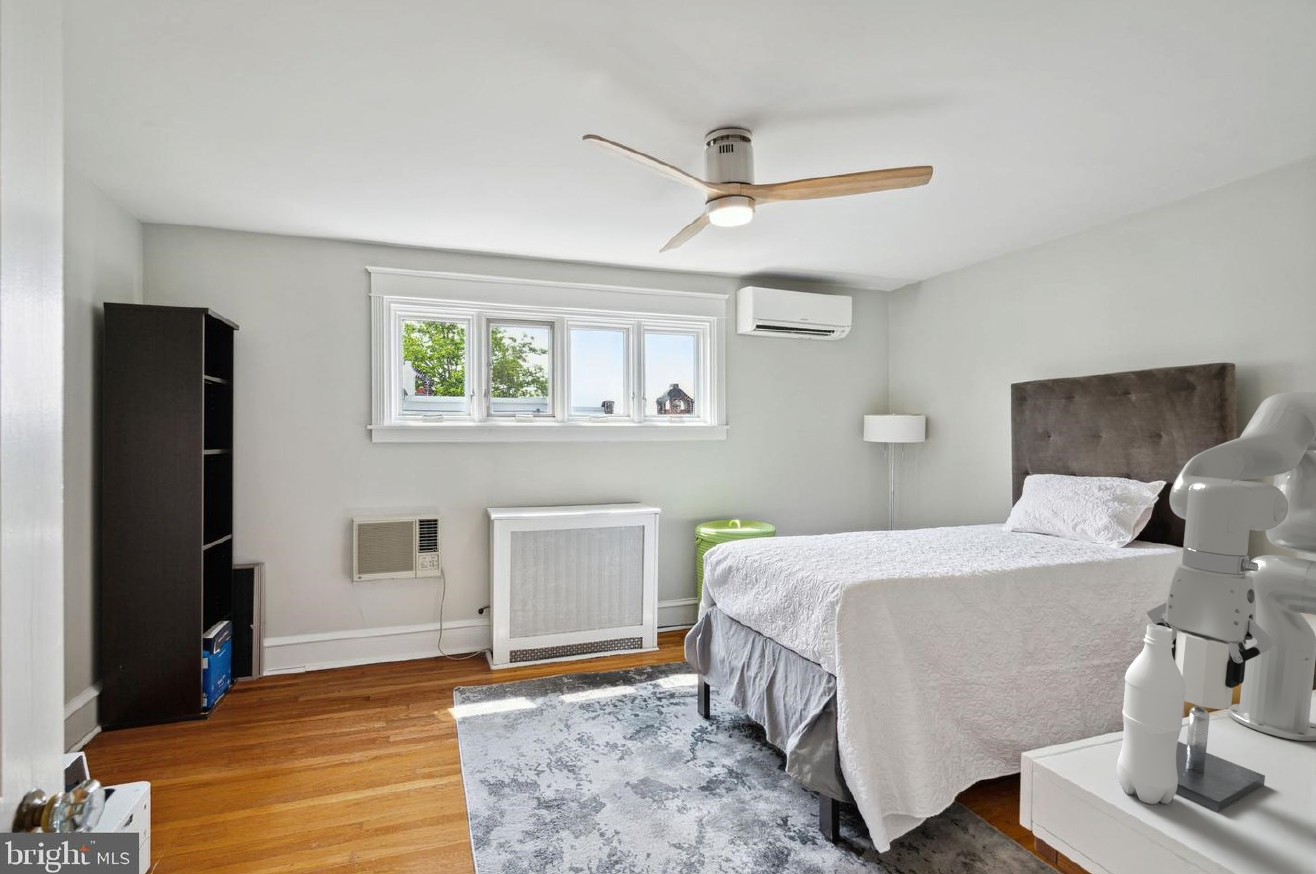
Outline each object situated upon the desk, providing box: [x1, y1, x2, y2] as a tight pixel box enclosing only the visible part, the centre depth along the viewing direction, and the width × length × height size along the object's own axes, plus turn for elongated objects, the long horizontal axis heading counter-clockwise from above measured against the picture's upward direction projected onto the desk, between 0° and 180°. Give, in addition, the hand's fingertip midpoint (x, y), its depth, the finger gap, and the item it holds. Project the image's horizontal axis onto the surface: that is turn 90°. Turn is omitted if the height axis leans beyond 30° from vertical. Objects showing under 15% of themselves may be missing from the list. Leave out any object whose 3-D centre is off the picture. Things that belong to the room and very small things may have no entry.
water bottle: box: [1116, 623, 1186, 805], centre depth 97 cm, size 7×7×25 cm
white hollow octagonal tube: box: [1175, 630, 1234, 711], centre depth 102 cm, size 7×7×10 cm
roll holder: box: [1175, 705, 1266, 813], centre depth 103 cm, size 16×12×11 cm
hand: (1202, 675), depth 102 cm, fingers closed on white hollow octagonal tube, 6 cm apart
